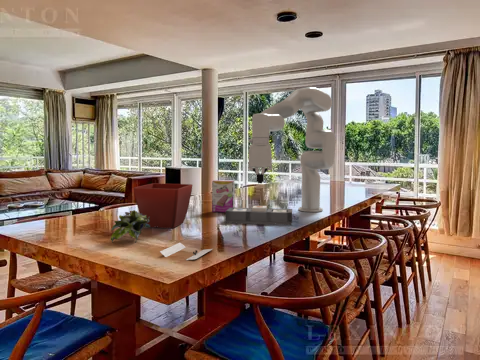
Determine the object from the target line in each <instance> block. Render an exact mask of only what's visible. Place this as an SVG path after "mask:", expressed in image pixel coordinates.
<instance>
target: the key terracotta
mask: <svg viewBox="0 0 480 360" xmlns="http://www.w3.org/2000/svg"><path fill="white" fill-rule="evenodd" d="M251 208H252V211H261V212H267V208H268V207H267V205H253V206H252V207H251Z"/></svg>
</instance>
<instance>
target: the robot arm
mask: <svg viewBox="0 0 480 360" xmlns="http://www.w3.org/2000/svg"><path fill="white" fill-rule="evenodd" d="M332 106H333V100H332V97H331V96H330V95H329V94H328V93H326V91H325V92H324V91H323V90H321V89H319V88H317V87H312V86H310V87H304V88H303V87H302V88H297V89H296V90H294V91H292V92H291V93H290V94H289V95H288V96H287V97H286V98H284V99H283V100H282V101H280V102H278V103H275V104H274V105H271V106H269V107H268V108H266V109H264V110H263V111H261V113H254V114H253V115H252V119H251V125H252V126H251V139H248V143H250V144H251V145H249V151H248V170H249V171H253V172H254V174H256V182H257V183H258V184H262V183H263V182H264V178H265V174H266V172H268V171H272V170H273V166H272V164H273V154H272V146H271V144H270V132H278V131H280V130H283V128H284V127H285V124H286V123H285V121H286V120H285V119H287V118H291V117H292V116H294V115H296V113H297V112H298V111H299V110H301V111H302V113H303V115H304V116H305V119H306V131H305V141H304V142H305V146H306V147H307V148H308V149H322V150H306V151H303V153H302V154H300V159H299V161H300V167H301V206H299V207H298V211H300V212H305V213H317V212H322V211H323V210H324V209H323V207H321V201H320V200H321V175H320V173H319V171H318V170H330V169H332V167H333V165H334V162H335V154H336V153H335V152H336V146H337V145H336V143H337V139H336V134H335V132H334V131H333V130H330V129H324V120H323V117H322V115H321V114H320V112H321V113H323V112H328V111H330V109H331V108H332ZM259 168H261V172H260V169H259ZM323 212H324V211H323Z"/></svg>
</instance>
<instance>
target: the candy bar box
mask: <svg viewBox="0 0 480 360" xmlns="http://www.w3.org/2000/svg"><path fill="white" fill-rule="evenodd" d="M211 181H212V182H211V183H212V184H211V188H212V189H211V193H212V194H211V198H212V199H211V204H212V205H211V212H212V213H226V211H227V210H228V209H229V208H230V207H232V208H235V180H232V179H230V180H229V179H228V180H227V179H226V180H225V179H212V180H211Z"/></svg>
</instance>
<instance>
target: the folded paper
mask: <svg viewBox="0 0 480 360" xmlns="http://www.w3.org/2000/svg"><path fill="white" fill-rule="evenodd" d="M186 248H187V247H186V246H185V245H184V244H183V243H182V242H178V243H175V244H173V245H171V246H170V247H167V248H165V249H162V250H160V251H159V253H161V255H162V256H164V257H165V258H168V257H169V256H171V255H174V254H176V253H177V252H180V251H182V250H184V249H186ZM212 250H213V248H209V249H208V248H207V249H202V250H200V251H199V252H198V250H195V251H193V252H192V256H190V257H188V258H187V259H185V260H186V261H189V260H196V259H199V258H200V257H202V256H203V255H205V254H207V253H208V252H211V251H212Z"/></svg>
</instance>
